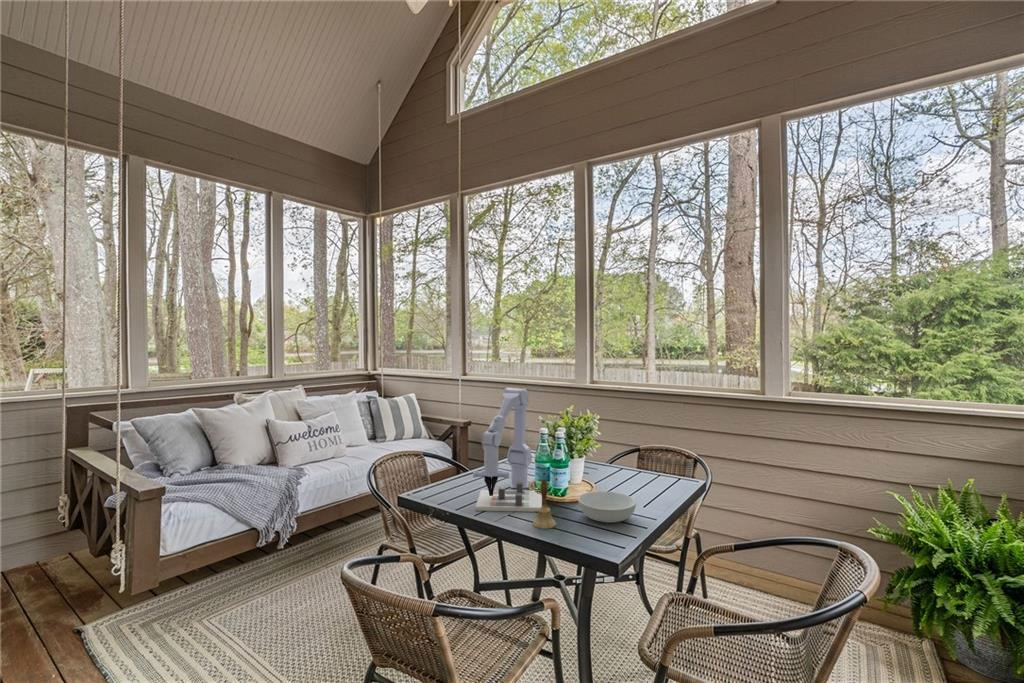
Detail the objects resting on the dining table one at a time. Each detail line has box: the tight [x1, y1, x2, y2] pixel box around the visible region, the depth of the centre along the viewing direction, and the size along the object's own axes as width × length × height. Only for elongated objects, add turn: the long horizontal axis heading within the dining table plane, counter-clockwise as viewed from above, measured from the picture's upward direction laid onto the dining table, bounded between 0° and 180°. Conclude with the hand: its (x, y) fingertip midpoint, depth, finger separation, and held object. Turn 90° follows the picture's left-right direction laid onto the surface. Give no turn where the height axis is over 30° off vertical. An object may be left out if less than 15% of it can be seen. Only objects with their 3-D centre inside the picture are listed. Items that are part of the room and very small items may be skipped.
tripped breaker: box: [498, 486, 506, 498], centre depth 191 cm, size 3×2×4 cm
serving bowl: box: [577, 490, 637, 524], centre depth 175 cm, size 21×21×7 cm
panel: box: [474, 482, 542, 513], centre depth 191 cm, size 20×26×6 cm
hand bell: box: [532, 478, 557, 530], centre depth 169 cm, size 8×8×16 cm
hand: (491, 495), depth 192 cm, fingers closed
